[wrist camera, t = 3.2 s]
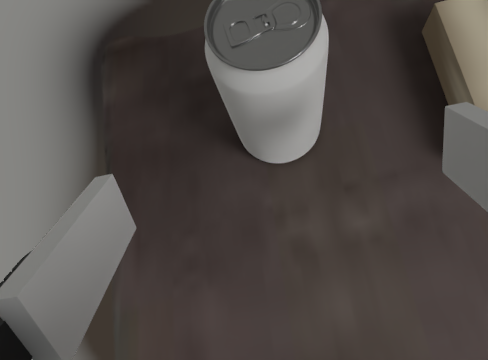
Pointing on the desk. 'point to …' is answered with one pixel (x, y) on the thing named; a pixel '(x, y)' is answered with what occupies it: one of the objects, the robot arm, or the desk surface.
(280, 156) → the can
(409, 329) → the desk surface
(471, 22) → the base block
